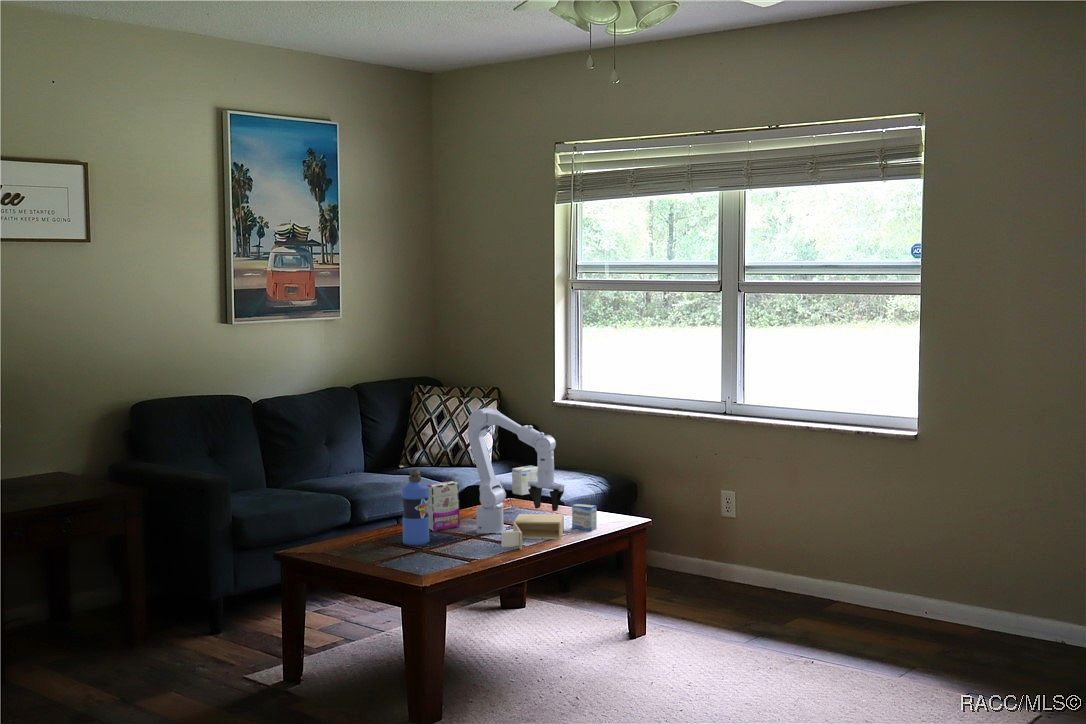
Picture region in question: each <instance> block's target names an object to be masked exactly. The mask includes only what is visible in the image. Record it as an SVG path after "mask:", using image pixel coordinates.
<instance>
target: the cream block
mask: <svg viewBox="0 0 1086 724" xmlns="http://www.w3.org/2000/svg"><path fill="white" fill-rule="evenodd" d="M512 529H513V530H510V531H504V532H501V534H500V535H501V538H500V539H501V547H502V548H506V547H507V548H508V547H518V549H519V550H520V551H521V550H523V539H522V532H521V530H520V529H519V527H518V526H517V525H516V523H515V522H514V521H512Z"/></svg>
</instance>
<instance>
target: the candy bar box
mask: <svg viewBox="0 0 1086 724" xmlns="http://www.w3.org/2000/svg"><path fill="white" fill-rule="evenodd" d="M426 485H427V486H429V496H428V507H427V508H428V514H429V529H430V530H429V531H431V530H432V532H438V530H439V531H445V530H448V529H449V530H450V528H451V529H455V528H456V529H457V528H460V526H461V525H460V519H461V518H460V500H459V499H460V494H459V493H460V491H459V482H456V481H453V480H451V481H443V482H437V483H430V484H426ZM444 529H445V530H444Z"/></svg>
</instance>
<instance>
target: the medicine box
mask: <svg viewBox="0 0 1086 724" xmlns="http://www.w3.org/2000/svg"><path fill="white" fill-rule="evenodd" d="M571 508H572V509H571V529H572V530H574V529H578V530H577V531H585V530H587V531H588V532H592V531H595V530H597V527H598V526H597V522H598V521H597V520H598V519H597V505H593V504H592V505H591V504H584V503H575V504H572V506H571ZM587 531H586V532H587Z"/></svg>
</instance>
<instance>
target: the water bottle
mask: <svg viewBox="0 0 1086 724" xmlns="http://www.w3.org/2000/svg"><path fill="white" fill-rule="evenodd" d="M408 474H409V476H408V483H407V484H405V485H403V486H401V491H400V492H401V493H400V494H401V500H402V507H403V510H402V543H403V544H404V545H407V546H420V545H421V546H422V545H425V544H426V543H427V544H429V543H430V530H429V514H428V508H427V507H428V496H429V486H427V485H428V484H424V483H423V482H422V476H421V472H420V471H419V470H418V469H416V468H415V469H411V471H409V472H408ZM428 542H429V543H428Z"/></svg>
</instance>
